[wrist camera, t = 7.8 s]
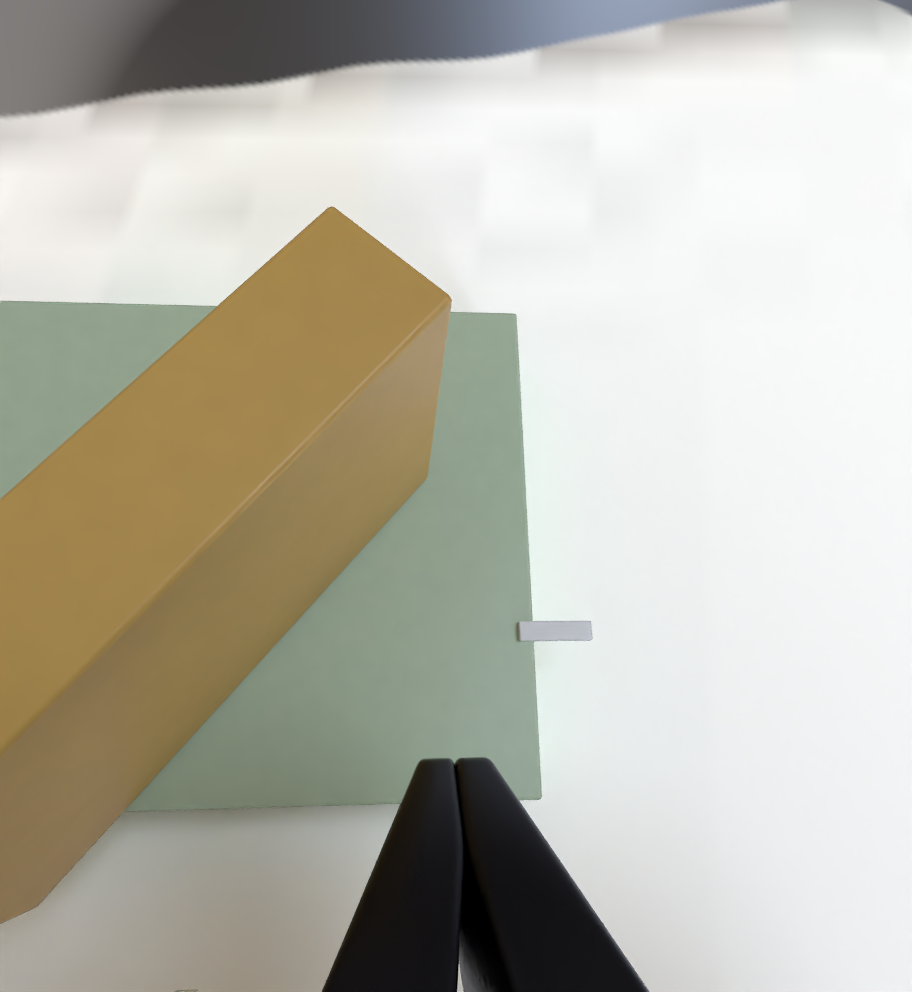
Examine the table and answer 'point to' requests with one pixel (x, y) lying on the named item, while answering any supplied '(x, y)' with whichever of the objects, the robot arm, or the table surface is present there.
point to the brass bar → (200, 529)
